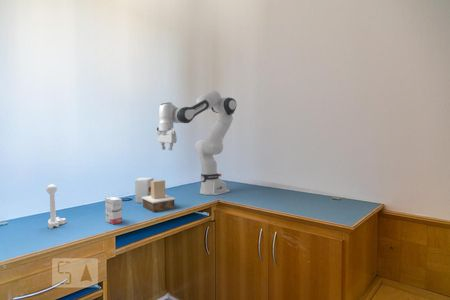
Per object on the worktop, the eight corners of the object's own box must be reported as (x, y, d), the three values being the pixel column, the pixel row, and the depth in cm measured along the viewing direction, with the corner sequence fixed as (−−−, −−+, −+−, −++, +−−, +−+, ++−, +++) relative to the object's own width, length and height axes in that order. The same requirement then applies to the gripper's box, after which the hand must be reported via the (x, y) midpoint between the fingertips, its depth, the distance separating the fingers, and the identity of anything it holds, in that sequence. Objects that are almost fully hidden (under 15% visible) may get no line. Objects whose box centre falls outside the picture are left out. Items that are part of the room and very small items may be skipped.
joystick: (49, 222, 146) (47, 183, 145) (66, 220, 150) (64, 181, 148) (47, 228, 136) (45, 186, 135) (65, 226, 140) (63, 185, 138)
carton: (162, 196, 176) (161, 179, 175) (165, 197, 172) (165, 180, 171) (151, 197, 171) (150, 181, 170) (154, 199, 168) (153, 182, 167)
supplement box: (148, 203, 182) (147, 179, 181) (135, 202, 184) (134, 179, 183) (154, 200, 191) (153, 177, 190) (141, 199, 193) (141, 177, 192)
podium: (163, 203, 183) (163, 193, 182) (175, 208, 170) (175, 198, 170) (141, 206, 174) (141, 197, 174) (153, 212, 161) (153, 202, 161)
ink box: (123, 222, 145) (122, 198, 144) (113, 224, 141) (112, 200, 141) (114, 218, 151) (113, 196, 150) (105, 221, 147) (104, 198, 146)
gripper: (178, 127, 179) (179, 150, 179) (163, 128, 195) (164, 149, 196) (169, 128, 175) (170, 150, 176) (155, 128, 191) (155, 149, 192)
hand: (167, 149), depth 186 cm, fingers open, 8 cm apart
